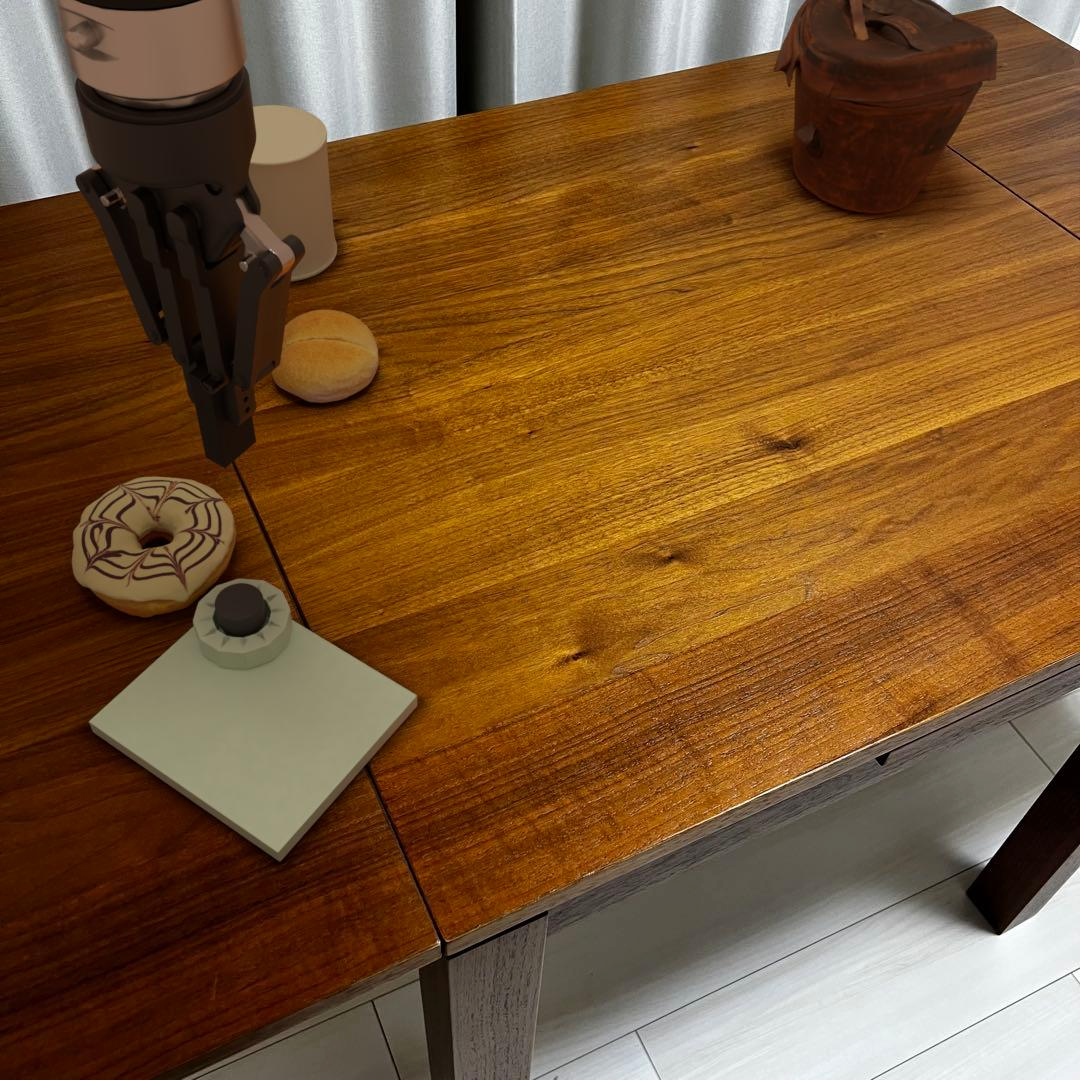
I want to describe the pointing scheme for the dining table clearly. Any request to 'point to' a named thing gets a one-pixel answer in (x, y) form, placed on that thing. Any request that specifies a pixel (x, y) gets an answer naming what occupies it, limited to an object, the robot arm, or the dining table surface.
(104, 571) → the decorated donut
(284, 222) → the can
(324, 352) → the bread roll
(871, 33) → the case
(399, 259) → the dining table surface
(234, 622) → the button
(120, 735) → the scale
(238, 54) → the robot arm
